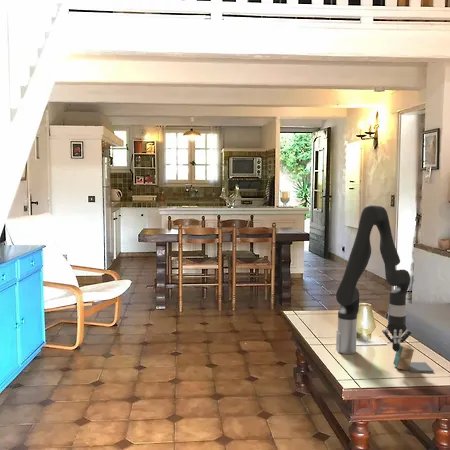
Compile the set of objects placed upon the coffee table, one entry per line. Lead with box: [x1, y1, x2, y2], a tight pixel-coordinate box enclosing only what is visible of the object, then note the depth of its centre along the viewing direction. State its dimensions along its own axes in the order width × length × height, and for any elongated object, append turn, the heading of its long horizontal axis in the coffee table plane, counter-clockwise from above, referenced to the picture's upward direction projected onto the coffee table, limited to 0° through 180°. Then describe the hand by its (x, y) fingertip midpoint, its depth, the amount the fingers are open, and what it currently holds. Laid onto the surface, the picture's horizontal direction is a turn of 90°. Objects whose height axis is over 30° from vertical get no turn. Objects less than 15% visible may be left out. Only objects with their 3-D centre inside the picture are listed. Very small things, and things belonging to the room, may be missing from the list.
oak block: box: [392, 342, 415, 372], centre depth 233 cm, size 5×6×10 cm
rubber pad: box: [408, 361, 435, 374], centre depth 234 cm, size 10×10×1 cm
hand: (395, 350), depth 233 cm, fingers closed
